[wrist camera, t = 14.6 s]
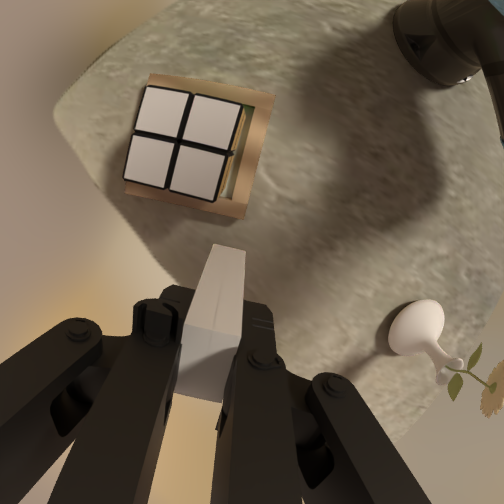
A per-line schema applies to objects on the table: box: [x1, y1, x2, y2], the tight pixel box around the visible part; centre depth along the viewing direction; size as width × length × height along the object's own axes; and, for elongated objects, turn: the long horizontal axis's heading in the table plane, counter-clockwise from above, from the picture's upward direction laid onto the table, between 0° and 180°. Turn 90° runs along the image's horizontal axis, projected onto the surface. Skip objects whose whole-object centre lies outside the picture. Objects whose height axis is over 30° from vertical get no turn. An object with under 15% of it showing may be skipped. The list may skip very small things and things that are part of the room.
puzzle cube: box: [122, 84, 246, 203], centre depth 31 cm, size 10×10×10 cm
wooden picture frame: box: [125, 73, 276, 220], centre depth 35 cm, size 16×16×2 cm
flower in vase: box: [388, 299, 504, 418], centre depth 34 cm, size 13×11×25 cm
